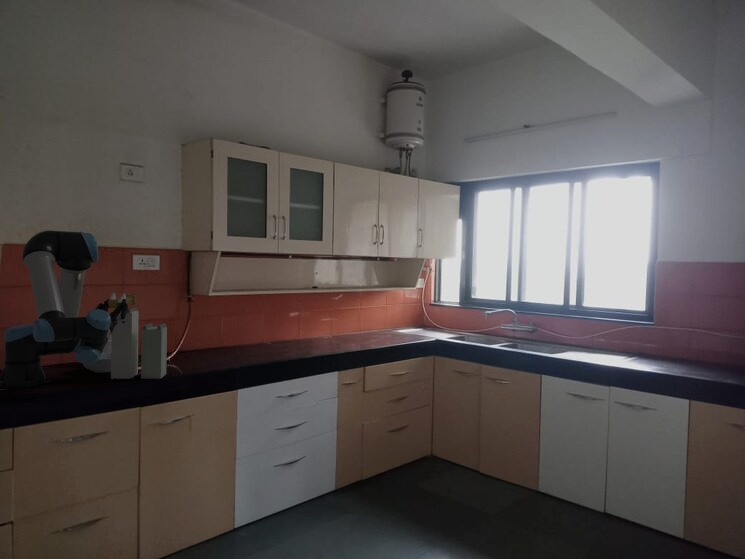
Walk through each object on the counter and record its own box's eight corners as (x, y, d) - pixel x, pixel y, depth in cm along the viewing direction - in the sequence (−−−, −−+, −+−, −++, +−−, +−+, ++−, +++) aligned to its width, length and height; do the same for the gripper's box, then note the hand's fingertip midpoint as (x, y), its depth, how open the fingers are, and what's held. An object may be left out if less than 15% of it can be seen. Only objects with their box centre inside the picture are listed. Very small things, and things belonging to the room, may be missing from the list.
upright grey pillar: (141, 378, 212) (141, 325, 211) (147, 373, 221) (148, 323, 220) (160, 378, 213) (161, 326, 213) (166, 373, 222) (167, 323, 222)
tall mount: (110, 378, 210) (111, 309, 209) (118, 373, 219) (119, 307, 218) (131, 378, 212) (132, 309, 211) (137, 373, 220) (138, 307, 219)
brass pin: (106, 309, 198) (107, 298, 198) (126, 304, 221) (126, 294, 221) (118, 309, 199) (118, 298, 199) (136, 304, 221) (136, 294, 221)
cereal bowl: (119, 365, 236) (119, 350, 236) (129, 372, 223) (129, 356, 223) (78, 369, 225) (78, 354, 224) (86, 377, 212) (87, 360, 212)
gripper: (79, 338, 187) (100, 302, 206) (125, 339, 189) (141, 303, 209) (74, 322, 183) (96, 287, 203) (122, 323, 185) (139, 288, 205)
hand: (119, 295), depth 206 cm, fingers closed on brass pin, 3 cm apart
